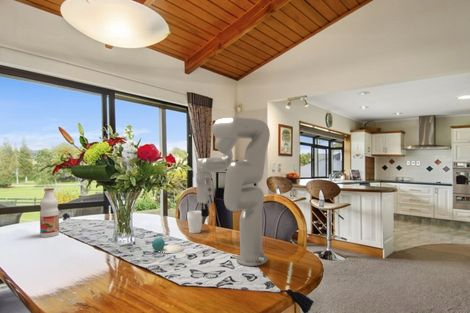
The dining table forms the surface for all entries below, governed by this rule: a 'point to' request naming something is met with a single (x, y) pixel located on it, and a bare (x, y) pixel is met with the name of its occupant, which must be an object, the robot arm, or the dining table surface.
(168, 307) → the dining table surface
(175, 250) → the cream rounded object
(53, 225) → the fruit juice
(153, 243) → the ball
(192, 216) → the cup
